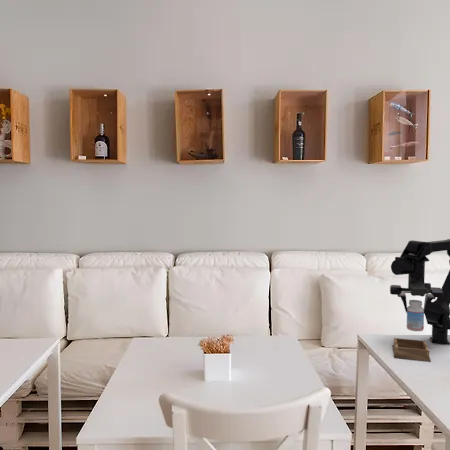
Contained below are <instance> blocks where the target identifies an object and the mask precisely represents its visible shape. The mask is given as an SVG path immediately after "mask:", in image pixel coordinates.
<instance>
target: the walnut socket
mask: <svg viewBox="0 0 450 450" xmlns="http://www.w3.org/2000/svg"><path fill="white" fill-rule="evenodd" d="M391 348H392V353H393V354H392V355H393V358H394V359H399V360H400V359H401V360H407V361H408V360H410V361H418V362H419V361H420V362H426V363H427V362H429V363H430V362H431V363H432V361H431V356H430V350H429V347H428V344H427V343H426V340H420V339H408V338H399V337H398V338H397V337H396V338H395V337H394V338H393V345H392V347H391Z"/></svg>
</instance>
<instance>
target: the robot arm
mask: <svg viewBox="0 0 450 450" xmlns="http://www.w3.org/2000/svg"><path fill="white" fill-rule="evenodd" d="M444 251H446V254H447V256H448V257H449V258H450V238H447V239H443V240H435V241H434V240H431V241H420V240H419V241H418V240H413V239H412V240H409V241H408V242H407V244H406V245H405V247H404V250H403V251H402V253H401V254H400V256H395V257H394V260H393V261H392V262H391V265H390V269H391V272H392V274H394V275H395V276H401V275H408V279H407V280H408V281H407V287H402V285H398V284H391V285H390V286H389V293H390V295H391V296H393V295H396V296H397V297H398V298H400V300H401V301H402V303H403V307H404V310H405V313H406V314H407V307H408V305H407V304H408V303H407V302H408V301H407V295H406V294H410V295H411V296H412V297H416V296H417V297H418V296H419V297H424V304H423V309H424V317H425V321H426V324H427V325H430V326H431V336H429V340H430V342H431V343H432V344H441V345H442V344H443V345H450V341H449V339H448V336H449V335H448V334H449V331H450V269H449V271H448V272H447V275H446V277H445V279H444V282H443V284H442V287H432V284H431V283H430V282H425V276H426V275H425V272H426V271H425V269H426V262H430V259H429V258H428V256H430V255H431V254H432V253H436V252H444ZM448 263H449V265H450V259H449V260H448ZM432 300H434V301H432Z"/></svg>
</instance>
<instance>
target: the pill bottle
mask: <svg viewBox="0 0 450 450" xmlns="http://www.w3.org/2000/svg"><path fill="white" fill-rule="evenodd" d="M408 301H409V302H408V305H407V313H406V329H407V330H408V331H411V332H423V331H424V327H425V325H424V324H425V318H424V317H425V314H424V307H422V306H423V301H422V300H418V299H409V300H408Z"/></svg>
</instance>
